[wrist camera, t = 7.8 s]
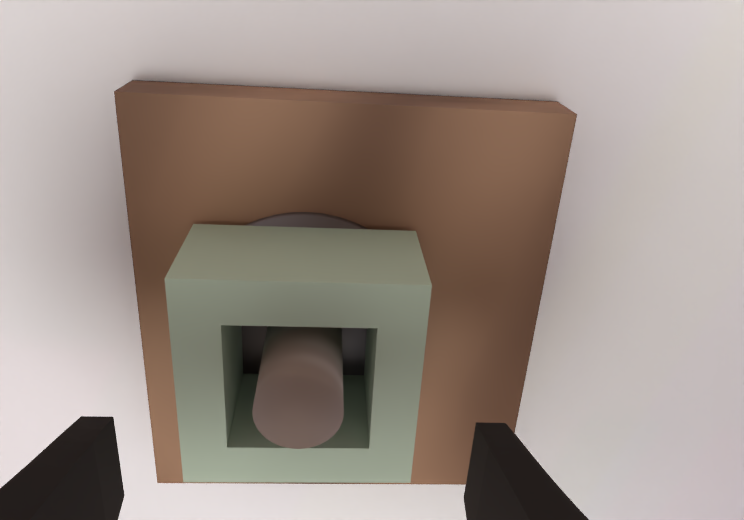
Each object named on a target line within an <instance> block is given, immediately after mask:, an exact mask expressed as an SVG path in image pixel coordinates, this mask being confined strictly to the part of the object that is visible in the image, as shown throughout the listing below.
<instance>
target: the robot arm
mask: <svg viewBox="0 0 744 520" xmlns="http://www.w3.org/2000/svg"><path fill="white" fill-rule="evenodd" d="M123 498H124V490H123V483H122V476H121V469H120V462H119V455H118V448H117V440H116V433H115V426H114V419H113V417H83V416H81V417H80V418H79V419H78V420H77V421H76V422H75V423H73V424H72V425H71V426H70V427H69V428H68V429H66V430H65V431H64V432H63V433H62V434H61V435H60V436H59V437H58V438H56V439H55V440H54V441H53V442H52V443H51V444H50V445H49V446H48V447H47V448H46V449H44V450H43V451H42V452H41V453H40V454H39V455H38V456H37V457H36V458H34V459H33V460H32V461H31V462H30V463H29V464H28V465H27V466H26V467H24V468H23V469H22V470H21V471H20V472H19V473H18V474H16V475H15V476H14V477H13V478H12V479H11V480H10V481H8V482H7V483H6V484H5V485H4V486H3V487H2V488H0V520H118V517H119V513H120V509H121V506H122V502H123ZM464 503H465V510H466V517H467V520H589V519H588V518H587V517H586V516H585V515H584V514H583V513H582V512H581V511H580V510H579V509H578V508H577V507H576V506H575V505H574V503H573V502H572V501H571V500H570V499H569V498H568V497H567V496H566V494H565V493H564V492H563V491H562V490H561V489H560V488H559V487H558V485H557V484H556V483H555V482H554V481H553V480H552V479H551V477H550V476H549V475H548V474H547V473H546V471H545V470H544V469H543V468H542V467H541V465H540V464H539V463H538V462H537V461H536V459H535V458H534V457H533V456H532V455H531V453H530V452H529V451H528V450H527V448H526V447H525V446H524V445H523V443H522V442H521V441H520V440H519V438H518V437H517V436H516V435H515V433H514V432H513V431H512V430H511V429H510V427H509V426H508V425H507V424H506V423H483V422H476V425H475V431H474V438H473V444H472V450H471V456H470V462H469V468H468V475H467V481H466V487H465V493H464Z"/></svg>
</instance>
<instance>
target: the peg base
mask: <svg viewBox="0 0 744 520" xmlns="http://www.w3.org/2000/svg"><path fill="white" fill-rule="evenodd" d="M114 95H115V104H116V113H117V122H118V131H119V140H120V149H121V158H122V167H123V176H124V185H125V194H126V203H127V212H128V221H129V230H130V239H131V248H132V257H133V266H134V275H135V284H136V293H137V302H138V311H139V320H140V329H141V338H142V347H143V356H144V365H145V374H146V383H147V392H148V401H149V410H150V419H151V428H152V437H153V446H154V455H155V464H156V473H157V482H158V483H271V482H183V473H182V462H181V451H180V440H179V430H178V419H177V408H176V397H175V386H174V375H173V365H172V354H171V343H170V332H169V321H168V311H167V300H166V289H165V277H166V275H167V273H168V271H169V269H170V267H171V265H172V263H173V262H174V260H175V258H176V256H177V254H178V252H179V250H180V248H181V246H182V244H183V243H184V241H185V239H186V237H187V235H188V233H189V231H190V229H191V227H192V225H193V224H213V225H245V226H277V227H308V228H340V229H372V230H404V231H416V233H417V237H418V240H419V243H420V247H421V250H422V254H423V257H424V260H425V264H426V267H427V270H428V274H429V277H430V280H431V284H432V290H431V299H430V308H429V317H428V326H427V335H426V345H425V354H424V363H423V372H422V381H421V391H420V400H419V409H418V418H417V427H416V437H415V446H414V455H413V464H412V473H411V483H288V484H466V481H467V475H468V468H469V462H470V456H471V450H472V444H473V438H474V431H475V425H476V422H483V423H506V424H507V425H508V426H509V427H510V429H511V430H512V431H513V432H515V427H516V422H517V417H518V412H519V407H520V402H521V397H522V391H523V386H524V381H525V376H526V371H527V366H528V361H529V356H530V351H531V346H532V341H533V335H534V330H535V325H536V320H537V315H538V310H539V305H540V300H541V295H542V290H543V285H544V279H545V274H546V269H547V264H548V259H549V254H550V249H551V244H552V239H553V234H554V229H555V223H556V218H557V213H558V208H559V203H560V198H561V193H562V188H563V183H564V178H565V173H566V167H567V162H568V157H569V152H570V147H571V142H572V137H573V132H574V127H575V122H576V117H577V114H576V113H574V112H572V111H571V110H569V109H568V108H566V107H565V106H563V105H562V104H560V103H559V102H552V101H533V100H513V99H493V98H473V97H453V96H433V95H414V94H394V93H374V92H354V91H334V90H314V89H295V88H275V87H255V86H235V85H215V84H195V83H176V82H156V81H136V80H132V81H131V82H129V83H127V84H126V85H124V86H123V87H121V88H119V89H118V90H116V91H114ZM366 334H367V328H334V327H284V326H242V353H243V374H259V376H258V381H257V387H256V392H255V398H254V403H253V410H252V414H253V420H254V423H255V425H256V427H257V429H258V430H259V432H260V433H261V434H262V435H263V436H264V437H265V438H266V439H268V440H269V441H271V442H273V443H275V444H277V445H279V446H282V447H286V448H292V449H304V448H311V447H314V446H317V445H320V444H322V443H324V442H326V441H327V440H329V439H330V438H331V437H332V436H334V435H335V433H336V432H337V431H338V429H339V428H340V426H341V424H342V421H343V416H344V402H343V375H364V366H365V350H366Z"/></svg>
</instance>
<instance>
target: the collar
mask: <svg viewBox="0 0 744 520" xmlns="http://www.w3.org/2000/svg"><path fill="white" fill-rule="evenodd" d="M165 289H166V300H167V311H168V321H169V332H170V343H171V354H172V365H173V375H174V386H175V397H176V408H177V419H178V430H179V440H180V451H181V462H182V473H183V482H271V483H411V473H412V464H413V455H414V446H415V437H416V427H417V418H418V409H419V400H420V391H421V381H422V372H423V363H424V354H425V345H426V335H427V326H428V317H429V308H430V299H431V290H432V284H431V280H430V277H429V274H428V270H427V267H426V264H425V260H424V257H423V254H422V250H421V247H420V243H419V240H418V237H417V233H416V231H404V230H372V229H340V228H308V227H277V226H245V225H213V224H193V225H192V227H191V229H190V231H189V233H188V235H187V237H186V239H185V241H184V243H183V244H182V246H181V248H180V250H179V252H178V254H177V256H176V258H175V260H174V262H173V263H172V265H171V267H170V269H169V271H168V273H167V275H166V277H165ZM242 326H284V327H334V328H367V334H366V350H365V366H364V375H343V402H344V416H343V421H342V424H341V426H340V428H339V429H338V431H337V432H336V433H335V435H334V436H332V437H331V438H330V439H329V440H327V441H326V442H324V443H322V444H320V445H317V446H314V447H311V448H304V449H292V448H286V447H282V446H279V445H277V444H275V443H273V442H271V441H269V440H268V439H266V438H265V437H264V436H263V435H262V434H261V433H260V432H259V430H258V429H257V427H256V425H255V423H254V420H253V414H252V410H253V403H254V398H255V392H256V387H257V381H258V376H259V374H243V353H242Z"/></svg>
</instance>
